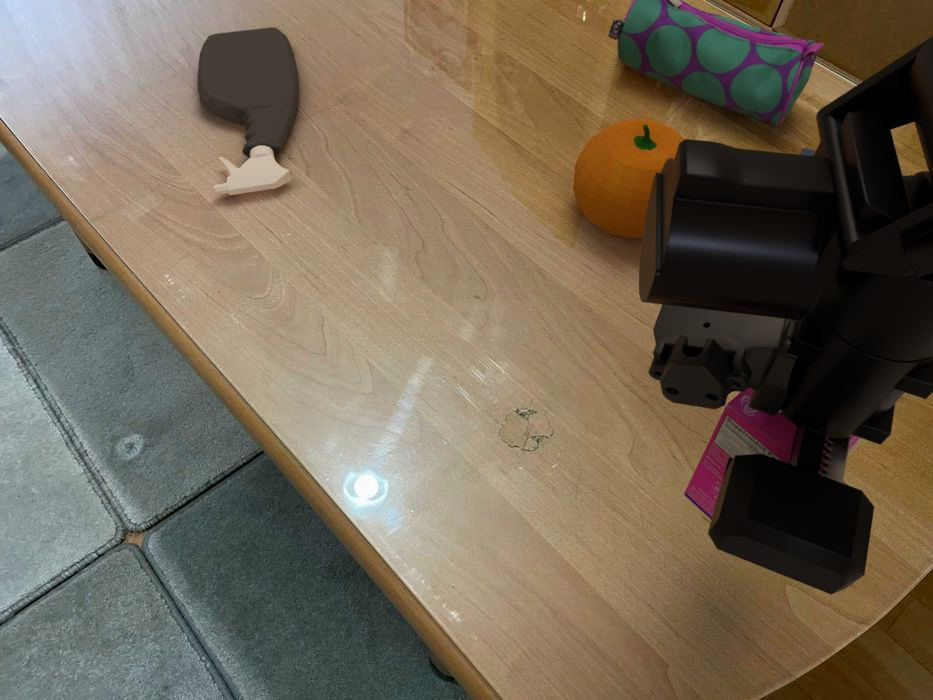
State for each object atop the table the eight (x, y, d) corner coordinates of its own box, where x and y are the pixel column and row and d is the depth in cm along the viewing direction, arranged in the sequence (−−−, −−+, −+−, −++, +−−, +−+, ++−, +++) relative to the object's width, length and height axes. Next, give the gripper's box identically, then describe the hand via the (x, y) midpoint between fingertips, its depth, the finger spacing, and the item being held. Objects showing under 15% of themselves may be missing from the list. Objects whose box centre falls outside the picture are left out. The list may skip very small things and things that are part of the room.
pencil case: (600, 74, 86) (614, -6, 78) (637, 38, 90) (654, -42, 82) (771, 147, 79) (806, 67, 71) (803, 104, 83) (839, 23, 75)
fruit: (574, 254, 70) (590, 173, 62) (563, 168, 77) (575, 85, 69) (699, 253, 70) (731, 172, 62) (676, 167, 77) (702, 84, 69)
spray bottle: (295, 46, 88) (315, 192, 75) (200, 56, 87) (204, 207, 74) (290, 23, 86) (310, 169, 73) (193, 33, 85) (195, 185, 71)
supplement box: (735, 440, 50) (794, 342, 41) (810, 504, 47) (892, 414, 38) (677, 493, 48) (725, 402, 39) (752, 562, 45) (823, 483, 36)
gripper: (739, 121, 38) (670, 309, 51) (632, 415, 28) (580, 555, 41) (974, 184, 35) (838, 365, 48) (944, 530, 26) (784, 641, 39)
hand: (761, 468), depth 44 cm, fingers closed on supplement box, 7 cm apart
